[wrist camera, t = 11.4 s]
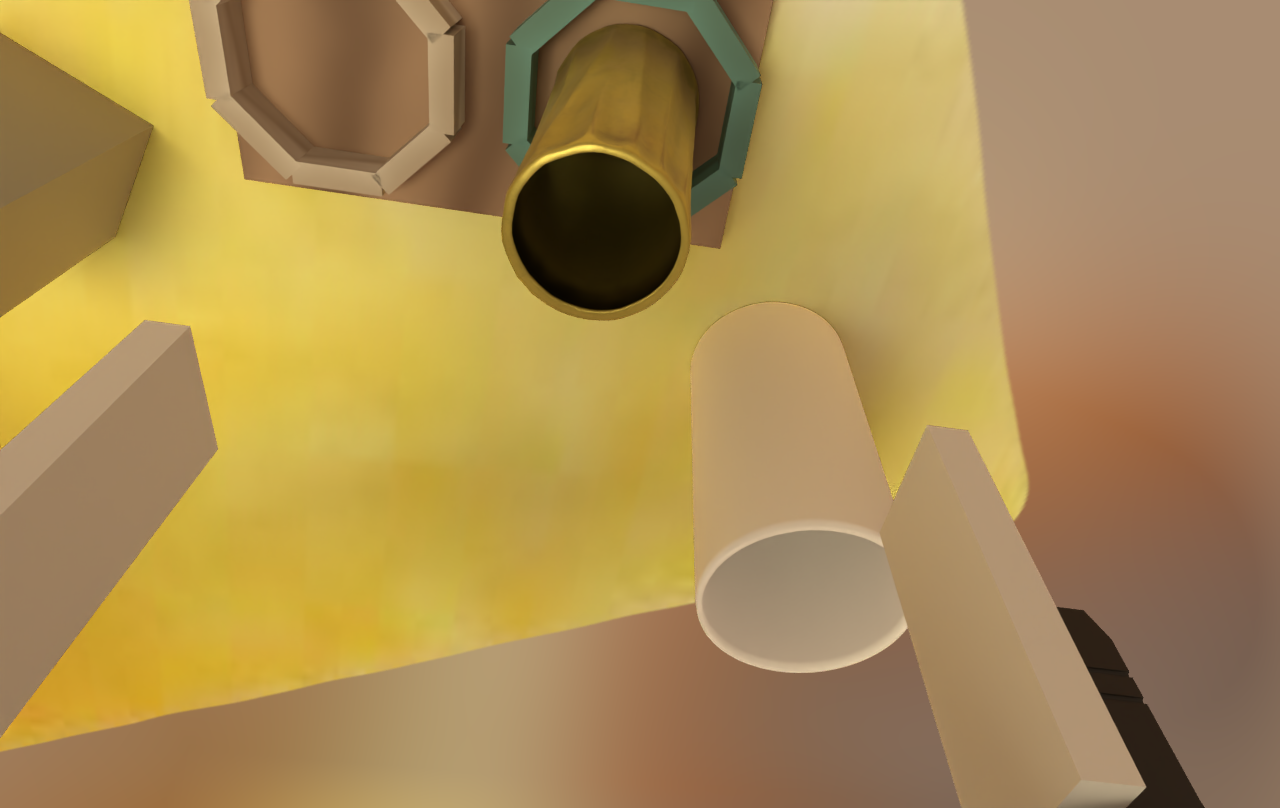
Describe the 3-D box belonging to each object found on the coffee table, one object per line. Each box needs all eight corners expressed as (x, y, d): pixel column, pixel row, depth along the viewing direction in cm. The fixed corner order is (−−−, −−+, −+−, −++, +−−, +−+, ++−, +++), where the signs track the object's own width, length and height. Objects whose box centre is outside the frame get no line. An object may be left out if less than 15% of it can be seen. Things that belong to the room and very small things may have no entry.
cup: (662, 392, 43) (655, 629, 30) (745, 274, 39) (777, 491, 26) (786, 451, 45) (829, 697, 32) (877, 346, 41) (970, 580, 28)
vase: (572, 2, 31) (505, 93, 19) (719, 49, 32) (740, 164, 20) (541, 150, 34) (467, 304, 23) (674, 190, 35) (669, 358, 24)
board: (256, 170, 37) (224, 195, 34) (209, -139, 30) (164, -137, 27) (719, 238, 38) (721, 267, 35) (778, -45, 31) (787, -35, 28)
